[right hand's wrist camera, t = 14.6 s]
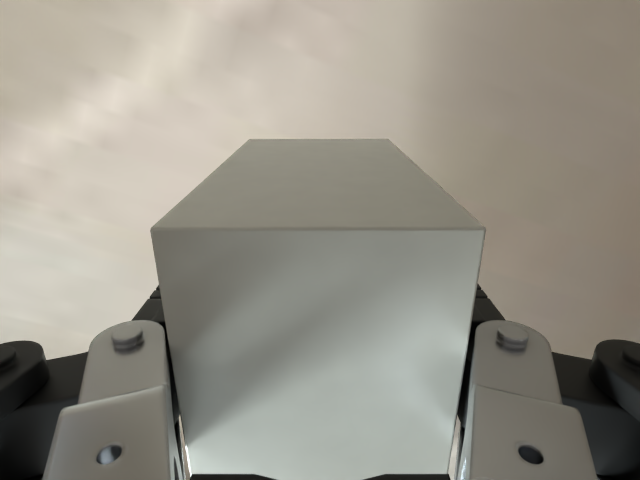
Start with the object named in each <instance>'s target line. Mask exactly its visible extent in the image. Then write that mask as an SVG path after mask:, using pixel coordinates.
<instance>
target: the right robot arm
mask: <svg viewBox="0 0 640 480" xmlns="http://www.w3.org/2000/svg"><path fill="white" fill-rule="evenodd" d="M179 415H180V409H179V403H178V397H177V391H176V385H175V379H174V372H173V366H172V360H171V354H170V348H169V342H168V336H167V329H166V323H165V317H164V311H163V305H162V299H161V293H160V286H159V285H158V287H157V288H156V290H155V291H154V292H153V293H152V295H151V296H150V299H148V300H147V301H146V302H145V304H144V305H143V306H142V308H141V309H140V310H139V311H138V313H137V314H136V315H135V317H134V318H133V319H132V321H128V322H124V323H120V324H117V325H115V326H112V327H110V328H108V329H106V330H104V331H103V332H101V333H100V334H98V335H97V336H96V337H95V338H94V339H93V341H92V342H91V344H90V347H89V352H85V353H81V354H77V355H72V356H66V357H61V358H56V359H51V360H46V358H45V355H44V351H43V348H42V346H41V345H40V344H38V343H36V342H32V341H13V342H8V343H3V344H0V480H186V478H185V468H184V457H183V447H182V437H181V429H180V423H179ZM457 415H458V417H459V420H460V422H461V423H460V429H459V436H458V447H457V457H456V467H455V478H454V480H640V343H636V342H631V341H626V340H606V341H602V342H600V343H599V344H597V346H596V348H595V351H594V355H593V358H592V360H590V359H584V358H579V357H574V356H569V355H563V354H558V353H554V352H551V347H550V344H549V342H548V341H547V339H546V338H545V337H544V336H543V335H541V334H540V333H539V332H537V331H536V330H534V329H532V328H530V327H528V326H525V325H523V324H520V323H516V322H512V321H506V320H505V319H504V318H503V316H502V315H501V314H500V312H499V311H498V310H497V308H496V307H495V306H494V304H493V303H492V302H491V300H490V299H488V298H487V295H486V294H485V293H484V291H483V290H481V287H480V286H479V285H478V283H477V290H476V296H475V303H474V309H473V315H472V322H471V328H470V335H469V341H468V347H467V354H466V360H465V367H464V373H463V379H462V386H461V392H460V399H459V405H458V412H457ZM190 480H277V479H273V478H269V477H265V476H261V475H257V474H191V477H190ZM363 480H450V477H449V474H383V475H379V476H375V477H371V478H367V479H363Z"/></svg>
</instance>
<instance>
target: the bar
mask: <svg viewBox="0 0 640 480" xmlns="http://www.w3.org/2000/svg"><path fill="white" fill-rule="evenodd" d="M150 231H151V237H152V243H153V250H154V256H155V262H156V268H157V274H158V280H159V286H160V293H161V299H162V305H163V311H164V317H165V323H166V329H167V336H168V342H169V348H170V354H171V360H172V366H173V372H174V379H175V385H176V391H177V397H178V403H179V409H180V415H181V422H182V428H183V434H184V440H185V446H186V452H187V458H188V465H189V471H190V477H191V474H257V475H261V476H265V477H269V478H273V479H277V480H363V479H367V478H371V477H375V476H379V475H383V474H448V469H449V463H450V456H451V450H452V444H453V437H454V431H455V424H456V418H457V412H458V405H459V399H460V392H461V386H462V379H463V373H464V367H465V360H466V354H467V347H468V341H469V335H470V328H471V322H472V315H473V309H474V303H475V296H476V290H477V283H478V277H479V270H480V264H481V258H482V251H483V245H484V238H485V232H486V229H485V227H484V226H483V225H482V224H481V223H480V222H479V221H478V220H477V219H476V218H474V217H473V216H472V215H471V214H470V213H469V212H468V211H467V210H466V209H465V208H463V207H462V206H461V205H460V204H459V203H458V202H457V201H456V200H455V199H454V198H452V197H451V196H450V195H449V194H448V193H447V192H446V191H445V190H444V189H443V188H441V187H440V186H439V185H438V184H437V183H436V182H435V181H434V180H433V179H432V178H430V177H429V176H428V175H427V174H426V173H425V172H424V171H423V170H422V169H421V168H419V167H418V166H417V165H416V164H415V163H414V162H413V161H412V160H411V159H410V158H408V157H407V156H406V155H405V154H404V153H403V152H402V151H401V150H400V149H399V148H397V147H396V146H395V145H394V144H393V143H392V142H391V141H390V140H389V139H249V140H248V141H247V142H246V143H245V144H244V145H242V146H241V147H240V148H239V149H238V150H237V151H236V152H235V153H234V154H232V155H231V156H230V157H229V158H228V159H227V160H226V161H225V162H224V163H222V164H221V165H220V166H219V167H218V168H217V169H216V170H215V171H214V172H212V173H211V174H210V175H209V176H208V177H207V178H206V179H205V180H204V181H203V182H201V183H200V184H199V185H198V186H197V187H196V188H195V189H194V190H193V191H191V192H190V193H189V194H188V195H187V196H186V197H185V198H184V199H183V200H181V201H180V202H179V203H178V204H177V205H176V206H175V207H174V208H173V209H171V210H170V211H169V212H168V213H167V214H166V215H165V216H164V217H163V218H162V219H160V220H159V221H158V222H157V223H156V224H155V225H154V226H153V227H152V228H151V230H150Z"/></svg>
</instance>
